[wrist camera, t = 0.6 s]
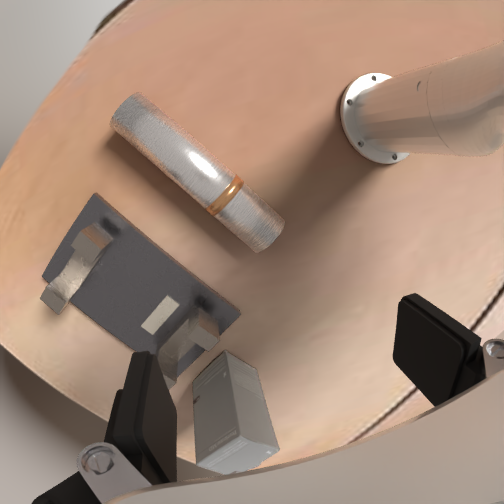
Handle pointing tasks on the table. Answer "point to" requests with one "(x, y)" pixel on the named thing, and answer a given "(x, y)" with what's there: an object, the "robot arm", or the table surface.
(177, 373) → the plate with corner blocks
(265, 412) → the skincare box
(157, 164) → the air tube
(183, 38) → the table surface
